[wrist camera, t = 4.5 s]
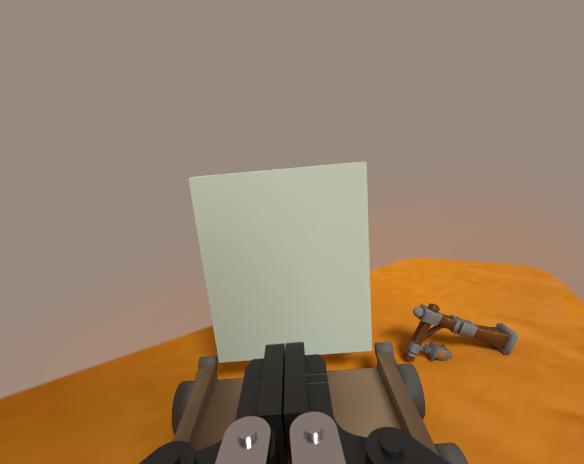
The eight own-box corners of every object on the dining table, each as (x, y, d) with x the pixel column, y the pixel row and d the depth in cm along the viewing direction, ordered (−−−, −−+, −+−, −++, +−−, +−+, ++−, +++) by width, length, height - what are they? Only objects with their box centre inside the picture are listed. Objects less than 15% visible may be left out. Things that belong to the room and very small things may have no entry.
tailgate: (219, 362, 22) (188, 178, 19) (222, 353, 23) (193, 176, 20) (371, 350, 21) (366, 162, 18) (368, 341, 22) (362, 161, 19)
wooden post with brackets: (389, 348, 25) (412, 294, 24) (477, 369, 27) (502, 320, 26) (399, 362, 23) (425, 306, 22) (493, 385, 25) (520, 332, 24)
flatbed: (130, 581, 13) (113, 525, 12) (199, 391, 23) (192, 354, 23) (483, 556, 13) (488, 498, 12) (398, 375, 23) (397, 338, 22)
